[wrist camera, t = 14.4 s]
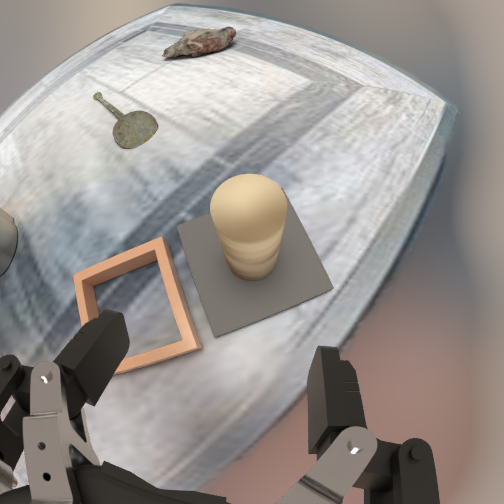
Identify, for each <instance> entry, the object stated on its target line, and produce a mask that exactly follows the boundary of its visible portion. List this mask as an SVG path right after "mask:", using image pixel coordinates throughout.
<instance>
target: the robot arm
mask: <svg viewBox="0 0 504 504" xmlns="http://www.w3.org/2000/svg"><path fill="white" fill-rule="evenodd" d="M13 220H14V218H13V217H12V216H10V215H9V214H8V213H6V212H5V211H4V210H2V209H1V208H0V275H1V274H3V273H4V272H5V270H6V269H7V268H8V266H9V264H10V262H11V260H12V258H13V255H14V252H15V249H16V244H17V229H16V226H15V225H14V223H13ZM129 344H130V341H129V336H128V332H127V328H126V324H125V320H124V316H123V314H122V313H120V312H116V311H112V310H108V309H106V310H104V311H103V312H102V313H101V314H100V315H99V316H98V318H93V319H92V320H90V321H88V322H87V323H85V324H84V325H83V327H82V328H81V329H80V330H79V332H78V333H77V334H76V335H75V336H74V337H73V339H71V341H70V342H69V343H68V344H67V345H66V347H65V348H64V349H63V350H62V351H61V353H60V354H59V355H58V356H57V358H56V359H55V360H54V361H53V362H51V361H45V362H41V363H39V364H38V365H36V366H35V367H28V366H23V365H21V364H20V362H19V360H18V358H17V357H16V356H14V355H5V356H3V357H1V358H0V414H1V411H2V409H3V408H4V406H5V405H6V403H7V401H8V400H9V398H10V397H11V395H12V397H13V398H14V399H15V400H16V401H15V403H14V405H13V406H12V408H11V409H10V411H9V413H8V414H7V416H6V418H5V419H4V421H3V422H2V421H1V418H0V504H230V503H228V502H226V497H221V496H215V495H210V494H205V493H200V492H195V491H179V490H164V489H158V488H156V487H154V486H153V485H151V484H149V483H147V482H146V481H144V480H143V479H141V478H139V477H138V476H136V475H135V474H133V473H132V472H130V471H127V470H125V469H122V468H120V467H118V466H115V465H113V464H111V463H108V462H106V461H104V462H103V464H102V466H101V465H100V463H99V460H98V458H97V456H96V454H95V452H94V450H93V448H92V446H91V442H90V437H89V433H88V428H87V423H86V418H85V412H84V409H83V406H84V404H85V402H86V403H88V404H90V405H92V406H94V407H95V405H96V403H97V401H98V400H99V398H100V396H101V395H102V393H103V391H104V390H105V388H106V386H107V385H108V383H109V381H110V380H111V378H112V376H113V375H114V373H115V371H116V370H117V368H118V366H119V365H120V363H121V362H122V360H123V358H124V357H125V355H126V354H127V352H128V349H129ZM359 391H360V390H359V385H358V380H357V376H356V371H355V369H354V368H353V366H352V365H351V364H350V362H349V361H344V360H340V356H339V351H338V348H337V347H328V346H318V347H317V349H316V352H315V355H314V358H313V361H312V364H311V367H310V370H309V374H308V380H307V394H308V435H309V436H308V443H309V444H308V448H309V449H308V451H309V454H317V462H316V463H315V464H314V465H313V466H312V468H311V469H310V470H309V471H308V472H307V473H306V474H305V475H304V476H303V477H302V478H301V479H300V480H299V481H298V482H297V483H296V484H295V485H294V486H293V487H292V488H291V489H290V490H289V491H288V492H287V493H286V494H285V495H284V496H282V497H281V498H280V499H279V500H278V501H277V502H276V503H275V504H342V500H343V498H344V496H345V495H346V494H347V492H348V491H349V490H350V488H351V487H356V488H362V489H364V504H440V500H439V491H438V483H437V477H436V470H435V465H434V458H433V454H432V450H431V447H430V446H429V444H428V443H427V442H425V441H424V440H422V439H419V438H412V439H409V440H407V441H405V442H404V443H403V444H402V445H401V444H395V443H390V442H385V441H381V440H379V439H377V438H375V436H374V434H373V433H372V432H371V431H369V430H368V428H367V426H366V422H365V417H364V410H363V405H362V400H361V395H360V393H359ZM23 450H24V452H25V460H26V468H27V475H28V480H29V485H26V486H23V487H20V488H16V489H13V490H12V487H16V486H17V484H18V482H17V479H16V478H15V477H14V475H13V471H14V469H15V466H16V464H17V462H18V460H19V458H20V456H21V454H22V452H23Z"/></svg>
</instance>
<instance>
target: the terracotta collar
mask: <svg viewBox="0 0 504 504" xmlns="http://www.w3.org/2000/svg"><path fill="white" fill-rule="evenodd" d="M156 260H158V263H159V267H160V270H161V274H162V277H163V281H164V284H165V287H166V291H167V294H168V297H169V301H170V304H171V307H172V310H173V313H174V316H175V319H176V322H177V325H178V328H179V331H180V334H181V337H182V341H179V342H176V343H173V344H170V345H167V346H164V347H161V348H158V349H155V350H152V351H149V352H145V353H142V354H139V355H136V356H133V357H129V358H126V359H123V360H122V362H121V363H120V365H119V366H118V368H117V370H116V371H115V373H114V375H117V374H121V373H124V372H128V371H131V370H135V369H138V368H142V367H145V366H148V365H152V364H155V363H158V362H161V361H165V360H168V359H171V358H174V357H177V356H180V355H183V354H186V353H189V352H192V351H195V350H198V349H201V348H203V347H202V344H201V341H200V339H199V336H198V333H197V330H196V328H195V325H194V322H193V319H192V316H191V313H190V311H189V308H188V305H187V302H186V299H185V296H184V293H183V290H182V287H181V283H180V280H179V277H178V274H177V271H176V267H175V264H174V261H173V257H172V254H171V251H170V247H169V245H168V244H167V243H166V241H165V240H164V239H163V238H162V237H159V238H157V239H155V240H152V241H150V242H147V243H145V244H142V245H140V246H138V247H135V248H133V249H131V250H128V251H126V252H124V253H121V254H119V255H117V256H114V257H112V258H110V259H107V260H105V261H103V262H101V263H98V264H96V265H94V266H92V267H89V268H87V269H85V270H83V271H81V272H79V273H76V274H74V283H75V290H76V296H77V302H78V308H79V313H80V318H81V323H82V327H83V325H84V324H85V323H87V322H88V321H90V320H92V319H93V318H98V316H99V312H98V307H97V302H96V297H95V292H94V286H96V285H98V284H100V283H103V282H105V281H108V280H110V279H112V278H115V277H117V276H120V275H122V274H124V273H127V272H129V271H132V270H134V269H137V268H139V267H142V266H144V265H147V264H149V263H151V262H154V261H156Z"/></svg>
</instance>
